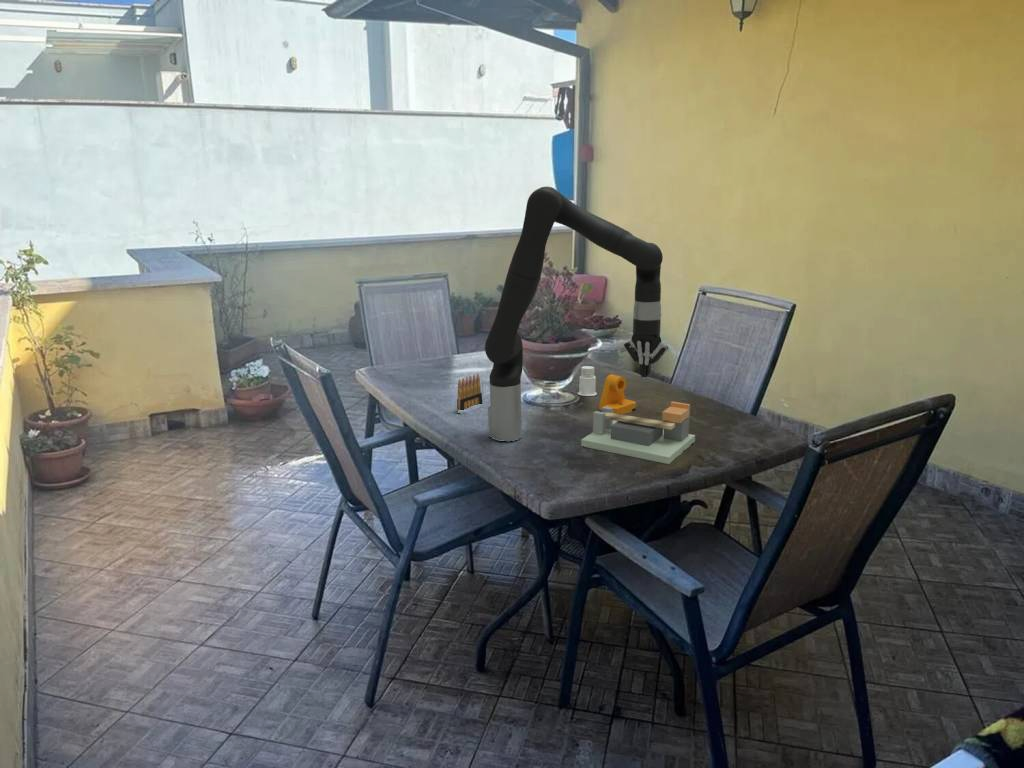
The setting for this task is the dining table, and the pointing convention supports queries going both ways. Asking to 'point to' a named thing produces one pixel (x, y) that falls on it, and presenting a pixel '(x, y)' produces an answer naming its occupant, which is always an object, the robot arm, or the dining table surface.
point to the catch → (676, 412)
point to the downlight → (587, 381)
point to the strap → (639, 420)
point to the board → (638, 450)
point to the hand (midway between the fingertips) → (645, 376)
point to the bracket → (616, 395)
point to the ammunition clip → (469, 393)
